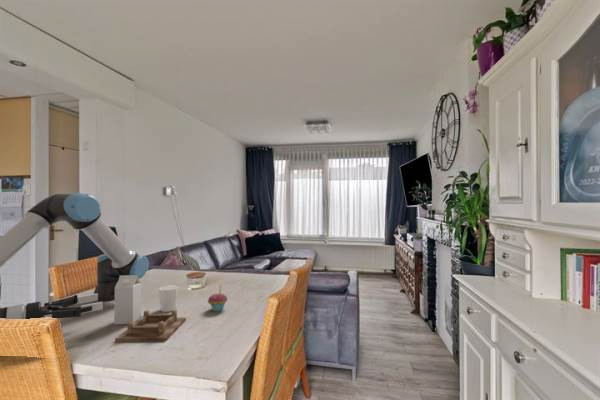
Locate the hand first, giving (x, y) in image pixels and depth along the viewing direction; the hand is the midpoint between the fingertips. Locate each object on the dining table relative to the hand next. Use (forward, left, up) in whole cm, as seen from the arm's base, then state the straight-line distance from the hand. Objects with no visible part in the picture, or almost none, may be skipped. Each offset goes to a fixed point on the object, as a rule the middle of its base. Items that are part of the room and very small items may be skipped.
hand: (100, 300), depth 112 cm
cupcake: (-18, +41, -11) cm, 46 cm away
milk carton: (-6, +7, -11) cm, 15 cm away
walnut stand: (+3, +22, -11) cm, 25 cm away
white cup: (-19, +18, -11) cm, 29 cm away
